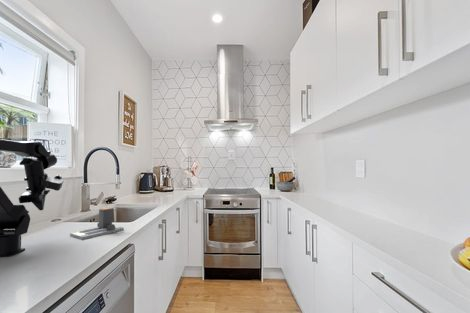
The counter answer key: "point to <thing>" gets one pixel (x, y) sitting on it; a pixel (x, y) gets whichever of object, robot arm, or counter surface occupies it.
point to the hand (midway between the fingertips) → (41, 209)
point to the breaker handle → (105, 217)
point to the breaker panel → (96, 231)
